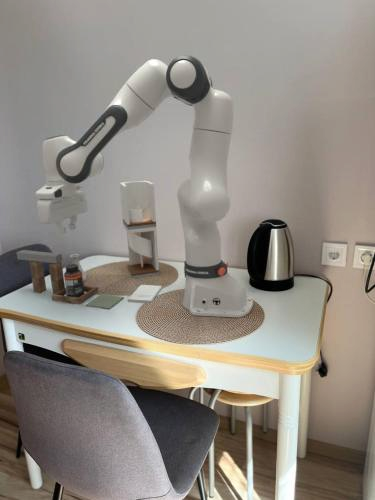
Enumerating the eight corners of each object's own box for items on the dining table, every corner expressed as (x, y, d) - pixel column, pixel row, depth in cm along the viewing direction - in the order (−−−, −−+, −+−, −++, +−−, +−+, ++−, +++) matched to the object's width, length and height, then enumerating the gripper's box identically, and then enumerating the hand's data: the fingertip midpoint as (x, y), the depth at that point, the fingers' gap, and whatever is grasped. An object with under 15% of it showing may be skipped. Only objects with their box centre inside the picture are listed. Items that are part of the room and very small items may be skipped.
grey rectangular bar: (62, 260, 136) (61, 253, 136) (56, 263, 134) (55, 256, 133) (23, 256, 143) (22, 250, 142) (17, 259, 140) (16, 252, 139)
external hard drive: (162, 290, 141) (151, 304, 129) (140, 288, 143) (127, 303, 131) (162, 285, 140) (150, 300, 129) (140, 284, 142) (127, 298, 131)
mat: (124, 298, 134) (124, 296, 133) (109, 309, 126) (109, 308, 125) (101, 295, 137) (101, 293, 137) (85, 305, 129) (85, 304, 129)
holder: (98, 292, 140) (95, 260, 136) (79, 304, 130) (75, 271, 126) (47, 285, 148) (42, 255, 144) (25, 296, 138) (20, 264, 135)
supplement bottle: (76, 291, 141) (72, 261, 137) (88, 294, 138) (84, 263, 134) (63, 298, 136) (58, 266, 132) (75, 301, 133) (71, 269, 130)
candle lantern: (127, 269, 161) (119, 182, 151) (152, 266, 164) (147, 180, 154) (131, 278, 151) (124, 186, 140) (159, 275, 154) (153, 184, 143)
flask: (90, 277, 155) (87, 252, 152) (83, 284, 148) (80, 258, 145) (72, 277, 155) (68, 252, 152) (64, 284, 148) (61, 258, 146)
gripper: (74, 184, 136) (79, 223, 140) (31, 193, 118) (38, 238, 122) (89, 184, 134) (94, 224, 138) (48, 194, 116) (54, 240, 120)
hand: (67, 231), depth 130 cm, fingers open, 4 cm apart
